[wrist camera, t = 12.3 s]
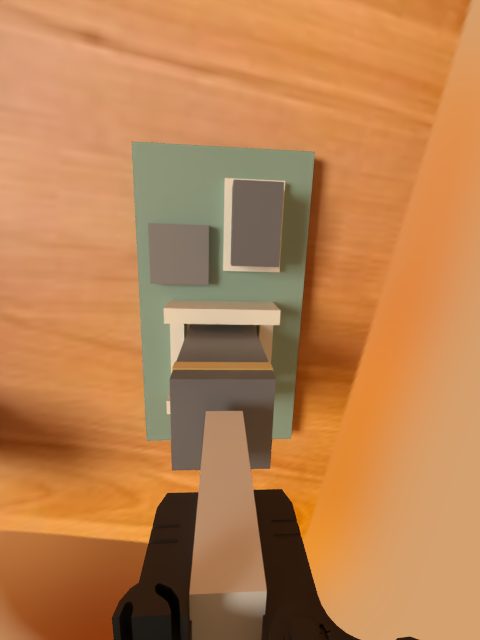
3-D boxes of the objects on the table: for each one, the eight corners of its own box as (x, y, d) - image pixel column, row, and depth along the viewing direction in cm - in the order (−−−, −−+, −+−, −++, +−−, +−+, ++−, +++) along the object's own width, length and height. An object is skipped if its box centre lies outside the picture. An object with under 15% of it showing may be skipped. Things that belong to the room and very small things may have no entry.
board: (136, 147, 20) (115, 123, 16) (309, 157, 21) (330, 136, 17) (149, 431, 26) (136, 466, 22) (287, 430, 26) (300, 463, 22)
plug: (190, 320, 22) (168, 377, 12) (252, 320, 22) (277, 378, 13) (191, 377, 23) (170, 471, 14) (250, 377, 24) (270, 469, 14)
